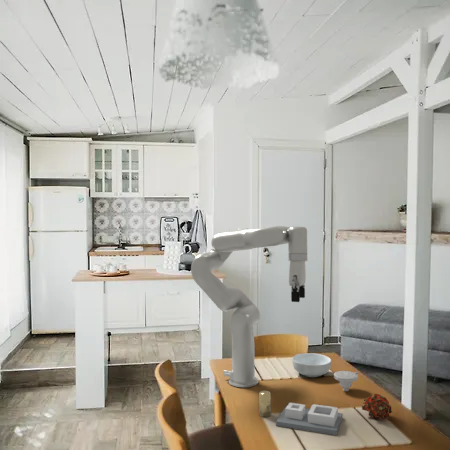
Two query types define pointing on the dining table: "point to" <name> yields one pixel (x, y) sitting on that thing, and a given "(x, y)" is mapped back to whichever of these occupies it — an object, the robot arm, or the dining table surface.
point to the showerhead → (346, 378)
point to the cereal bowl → (311, 364)
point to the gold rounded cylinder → (264, 403)
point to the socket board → (311, 418)
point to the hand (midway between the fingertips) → (298, 299)
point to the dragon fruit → (377, 406)
